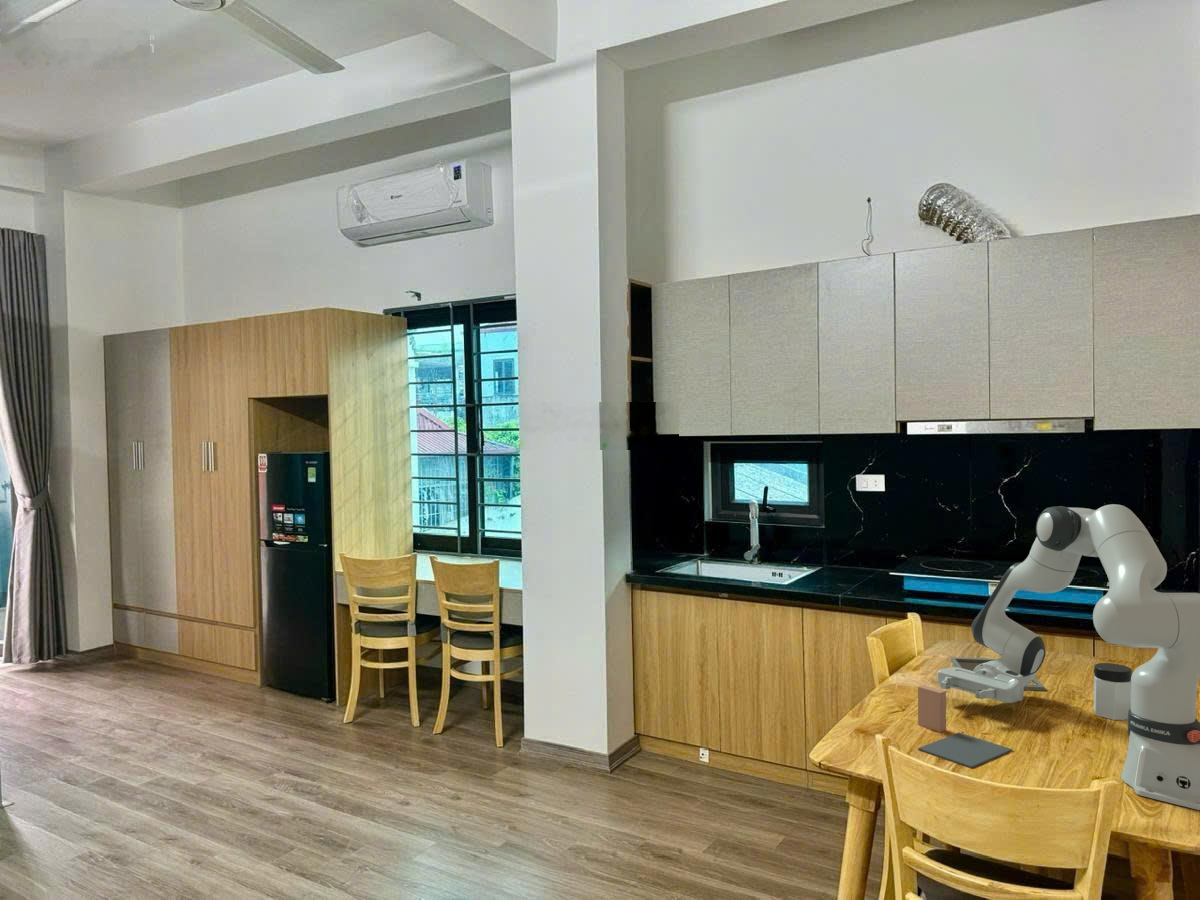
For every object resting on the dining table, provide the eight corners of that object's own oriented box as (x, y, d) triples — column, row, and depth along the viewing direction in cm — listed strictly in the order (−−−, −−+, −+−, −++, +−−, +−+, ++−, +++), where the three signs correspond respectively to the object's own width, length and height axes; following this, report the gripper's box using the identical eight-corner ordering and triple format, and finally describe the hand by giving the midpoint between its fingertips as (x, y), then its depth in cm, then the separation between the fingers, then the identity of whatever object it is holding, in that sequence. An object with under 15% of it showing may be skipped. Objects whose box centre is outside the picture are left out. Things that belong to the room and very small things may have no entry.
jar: (1117, 708, 220) (1118, 661, 219) (1141, 719, 212) (1141, 671, 211) (1084, 710, 219) (1085, 663, 219) (1106, 721, 211) (1107, 672, 211)
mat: (1012, 750, 193) (1012, 749, 193) (971, 768, 184) (971, 766, 184) (958, 734, 204) (958, 732, 204) (918, 749, 195) (918, 748, 195)
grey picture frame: (970, 684, 238) (948, 654, 268) (970, 689, 239) (948, 659, 268) (1045, 687, 235) (1015, 657, 264) (1045, 693, 235) (1015, 662, 264)
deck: (924, 722, 212) (924, 684, 211) (946, 729, 207) (946, 690, 207) (918, 725, 210) (918, 686, 210) (940, 732, 205) (940, 693, 205)
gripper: (954, 658, 232) (923, 668, 224) (1029, 677, 215) (998, 688, 207) (954, 681, 232) (923, 692, 224) (1029, 702, 215) (998, 713, 208)
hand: (960, 690), depth 216 cm, fingers open, 8 cm apart
